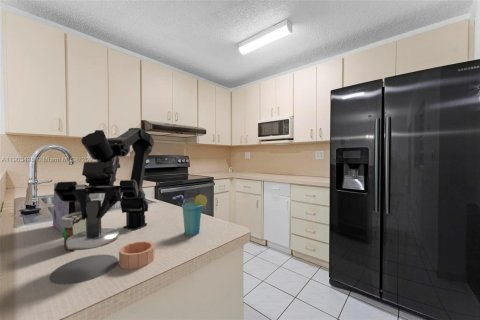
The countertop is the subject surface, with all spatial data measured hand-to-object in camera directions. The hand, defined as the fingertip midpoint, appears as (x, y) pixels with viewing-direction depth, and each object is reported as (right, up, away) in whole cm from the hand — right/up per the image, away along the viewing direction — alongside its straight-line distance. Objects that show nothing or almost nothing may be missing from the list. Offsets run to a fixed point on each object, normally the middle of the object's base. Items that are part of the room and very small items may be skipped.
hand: (91, 218), depth 53 cm
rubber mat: (-2, -13, +1) cm, 13 cm away
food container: (-16, -13, +15) cm, 25 cm away
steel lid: (0, -6, +2) cm, 6 cm away
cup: (+18, -13, +26) cm, 34 cm away
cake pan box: (-30, -13, +30) cm, 44 cm away
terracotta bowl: (+9, -13, +5) cm, 17 cm away
